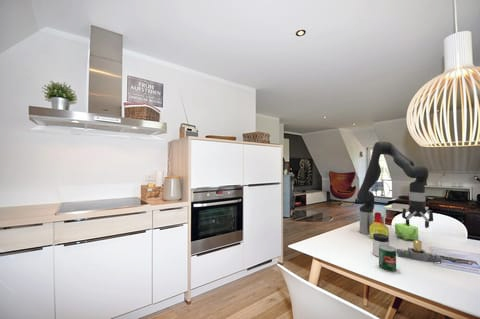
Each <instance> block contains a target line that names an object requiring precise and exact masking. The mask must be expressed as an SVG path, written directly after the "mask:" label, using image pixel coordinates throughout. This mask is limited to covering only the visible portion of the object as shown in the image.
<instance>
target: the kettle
mask: <svg viewBox="0 0 480 319" xmlns="http://www.w3.org/2000/svg"><path fill="white" fill-rule="evenodd" d="M392 226H394V234H395V235H396V236H397V237H398V238H402V240H403V241H408V240H411V241H413V240H419V227H418V226H415V225H412V224H410V223H409V226H407V225H406V222H404V223H398V222H397V223H394V224H392Z"/></svg>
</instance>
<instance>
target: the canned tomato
mask: <svg viewBox="0 0 480 319" xmlns="http://www.w3.org/2000/svg"><path fill="white" fill-rule="evenodd" d="M396 249H397V248H395V247H393V246H391V245H389V246H387V245H380V246H379V257H378V268H379V269H380V270H383V271H386V272H392V273H394V272H396V271H397V253H396Z"/></svg>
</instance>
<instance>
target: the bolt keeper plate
mask: <svg viewBox="0 0 480 319" xmlns="http://www.w3.org/2000/svg"><path fill="white" fill-rule="evenodd" d="M395 249H396V256H398V257H399V258H405V259H410V260H414V261H419V262H426V263H429V262H430V263H435V262H440V263H439V264H441V263H442V262H443V261H442V258H441V257H440V256H439V255H438V254H437V253H429V252H426V251H425V249H422V253H417V252H413V247H407V249H402V248H401V249H400V248H395Z"/></svg>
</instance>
